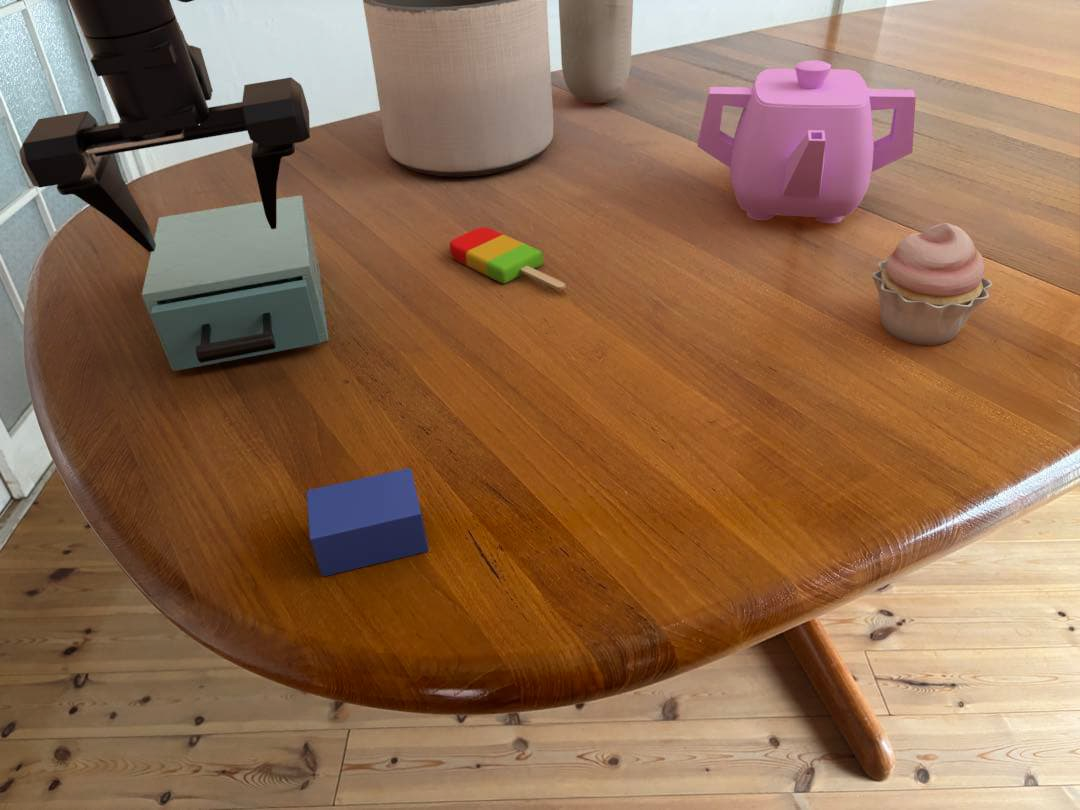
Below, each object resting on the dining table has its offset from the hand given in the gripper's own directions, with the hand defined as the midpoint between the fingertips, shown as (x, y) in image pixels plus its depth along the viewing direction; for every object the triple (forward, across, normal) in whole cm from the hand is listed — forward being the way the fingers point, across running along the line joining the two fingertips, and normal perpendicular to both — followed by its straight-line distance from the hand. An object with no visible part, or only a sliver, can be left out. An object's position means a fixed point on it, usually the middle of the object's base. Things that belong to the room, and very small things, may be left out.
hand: (214, 237), depth 63 cm
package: (+12, -8, +23) cm, 27 cm away
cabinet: (+14, +2, -11) cm, 18 cm away
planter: (+17, -25, -46) cm, 55 cm away
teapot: (+17, -58, -17) cm, 63 cm away
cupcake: (+16, -56, +10) cm, 59 cm away
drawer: (+13, +2, -6) cm, 14 cm away
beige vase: (+18, -47, -59) cm, 78 cm away
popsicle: (+15, -24, -11) cm, 31 cm away
